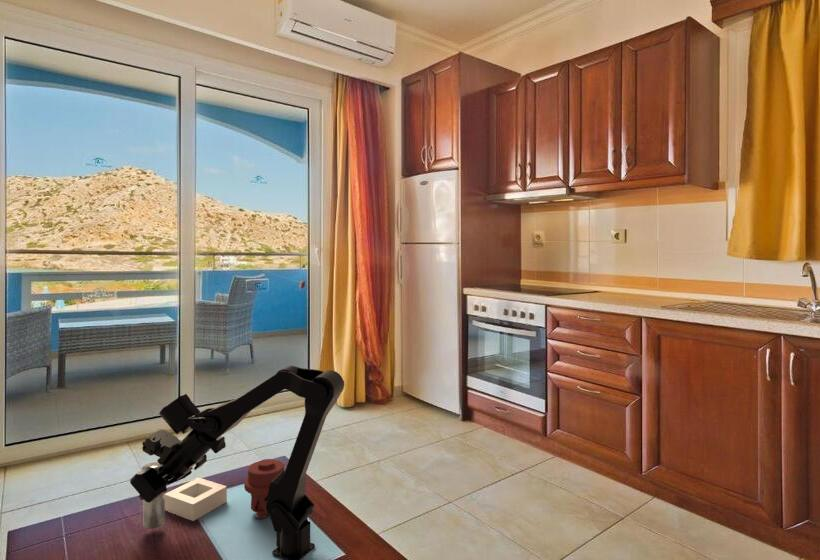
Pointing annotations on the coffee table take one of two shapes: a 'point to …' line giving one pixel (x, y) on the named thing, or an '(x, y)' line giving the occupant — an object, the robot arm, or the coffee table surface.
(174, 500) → the docking block
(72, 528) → the coffee table surface
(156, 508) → the cylinder
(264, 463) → the mechanical component
